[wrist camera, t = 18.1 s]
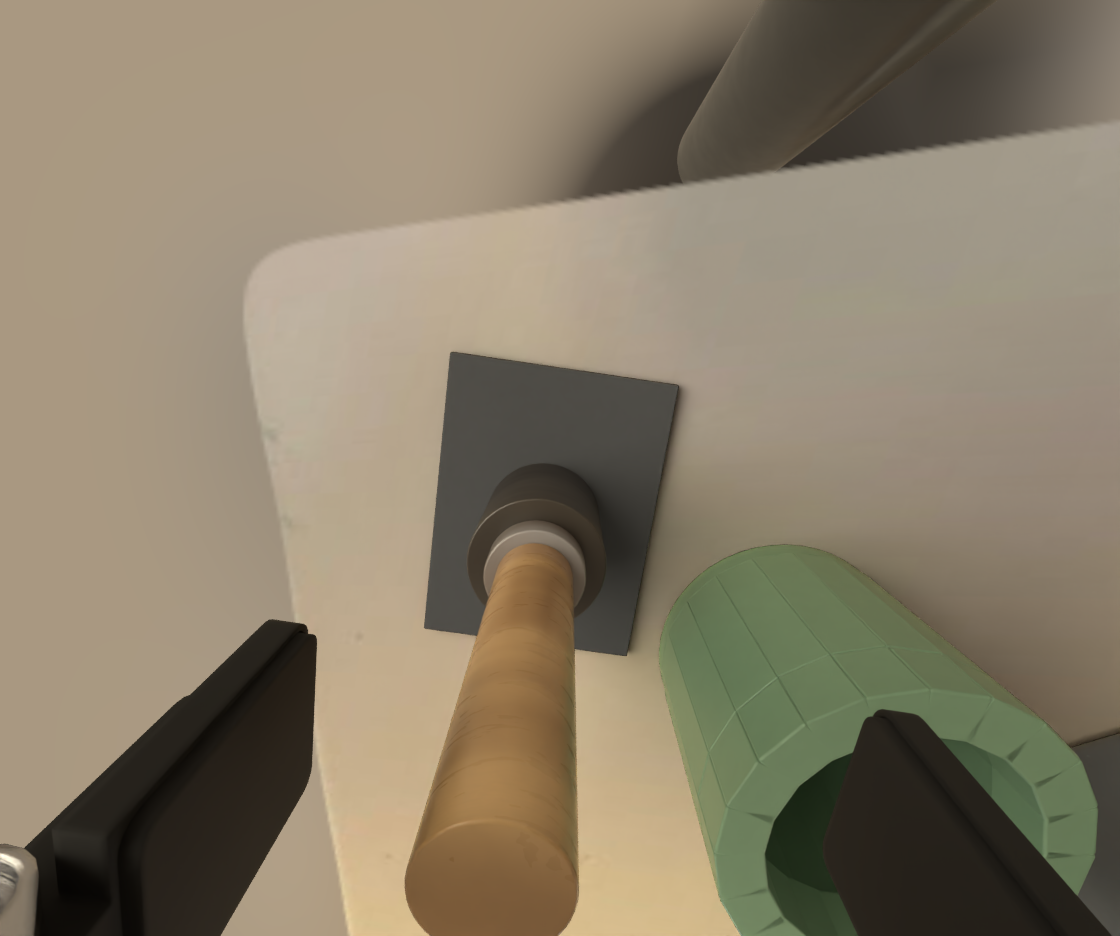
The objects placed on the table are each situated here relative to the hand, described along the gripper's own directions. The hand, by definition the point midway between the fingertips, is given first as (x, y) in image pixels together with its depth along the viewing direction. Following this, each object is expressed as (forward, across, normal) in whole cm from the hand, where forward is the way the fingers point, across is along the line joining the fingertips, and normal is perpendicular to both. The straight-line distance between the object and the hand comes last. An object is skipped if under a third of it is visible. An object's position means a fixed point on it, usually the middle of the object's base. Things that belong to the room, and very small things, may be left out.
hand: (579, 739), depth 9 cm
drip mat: (+14, +1, +1) cm, 14 cm away
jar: (+14, -10, +6) cm, 18 cm away
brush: (+14, +1, +1) cm, 14 cm away
